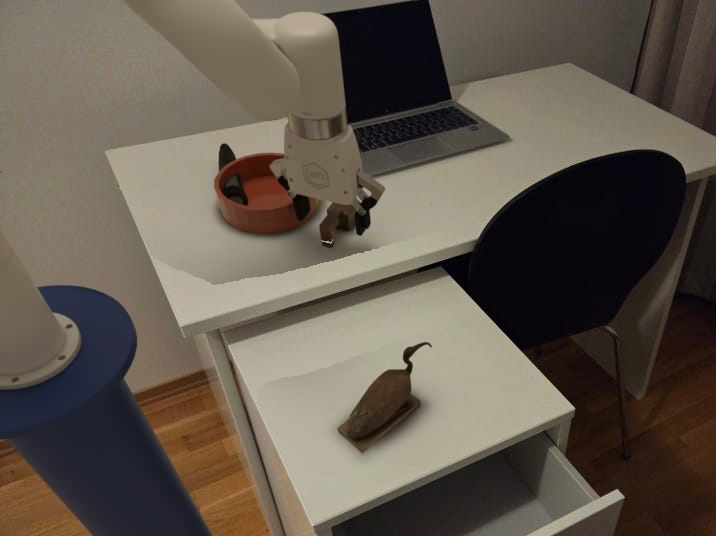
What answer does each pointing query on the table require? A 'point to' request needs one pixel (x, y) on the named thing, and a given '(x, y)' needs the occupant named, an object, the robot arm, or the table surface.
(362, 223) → the robot arm
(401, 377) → the figurine
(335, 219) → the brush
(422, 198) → the table surface
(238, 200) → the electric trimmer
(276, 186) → the bowl
